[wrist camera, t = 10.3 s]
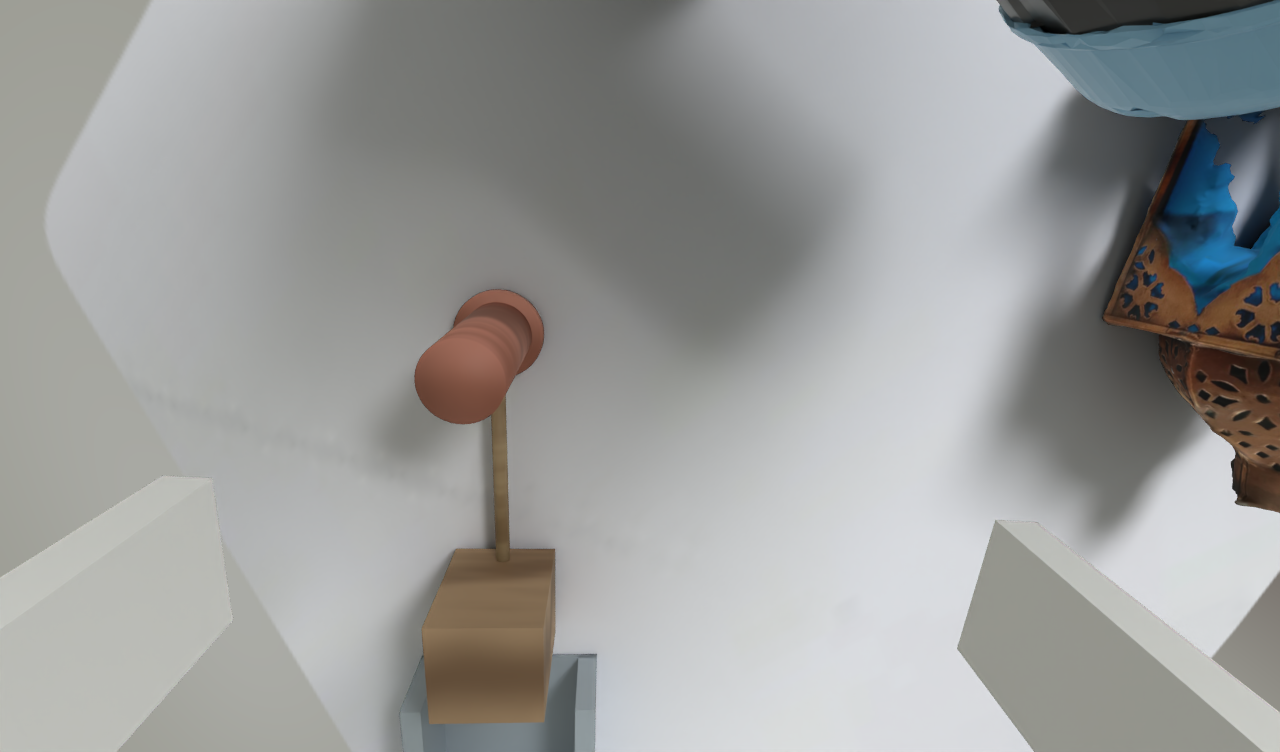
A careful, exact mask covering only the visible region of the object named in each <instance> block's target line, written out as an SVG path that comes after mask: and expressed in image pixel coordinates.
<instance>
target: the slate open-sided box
mask: <svg viewBox="0 0 1280 752" xmlns="http://www.w3.org/2000/svg"><path fill="white" fill-rule="evenodd" d="M596 662H597V654H566V655H552V662H551V670H550V678H549V687H548V695H547V703H546V712H545V720H544V722H538V723H469V724H429V716H428V704H427V691H426V679H425V666H424V656H422V658H421V660H420V663H419V665H418V668H417V670H416V673H415V675H414V678H413V680H412V683H411V685H410V688H409V690H408V692H407V695H406V697H405V700H404V702H403V705H402V707H401V710H400V712H399V715H400V725H401V736H402V746H403V752H595V707H596Z"/></svg>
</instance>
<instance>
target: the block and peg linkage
mask: <svg viewBox="0 0 1280 752" xmlns="http://www.w3.org/2000/svg"><path fill="white" fill-rule="evenodd" d="M543 340H544V328H543V323H542V320H541V317H540V315H539V313H538V312H537V310H536V309H535V307H534V306H533V305H532V304H531V303H530V302H529V301H528V300H527V299H525V298H524V297H522V296H521V295H519V294H517V293H514V292H511V291H508V290H501V289H493V290H487V291H484V292H481V293H479V294H477V295H475V296H474V297H472V298H471V299H469V300H468V301H467V302H466V303H465V304H464V305H463V306H462V307H461V309H460V310H459V312H458V314H457V316H456V318H455V321H454V327H453V329H451V330H450V331H449V332H448V333H447V334H446V335H444V336H443V337H442V338H441V339H440V340H438V341H437V342H436V343H435V344H434V345H432V346H431V347H430V348H429V349H428V350H426V351H425V353H424V354H423V355H422V356H421V358H420V359H419V361H418V364H417V366H416V370H415V387H416V391H417V394H418V396H419V398H420V400H421V401H422V403H423V404H424V406H425V407H426V408H427V409H428V410H429V411H430V412H431V413H433V414H434V415H435V416H437V417H438V418H440V419H442V420H445V421H447V422H450V423H455V424H471V423H476V422H479V421H481V420H484V419H485V418H487V417H489V416H490V415H491V424H492V452H493V481H494V510H495V538H496V549H456V550H455V552H454V555H453V557H452V559H451V562H450V564H449V566H448V569H447V571H446V573H445V576H444V578H443V580H442V582H441V585H440V587H439V589H438V592H437V594H436V596H435V599H434V601H433V603H432V606H431V608H430V610H429V613H428V615H427V617H426V619H425V622H424V624H423V626H422V641H423V653H424V666H425V679H426V691H427V704H428V716H429V724H469V723H538V722H544V720H545V712H546V703H547V695H548V687H549V678H550V670H551V662H552V653H553V645H554V637H555V549H510V541H509V504H508V468H507V431H506V392H507V390H508V389H509V387H510V385H511V383H512V381H513V379H514V377H515V375H517V374H519V373H521V372H523V371H525V370H526V369H527V368H529V367H530V366H531V365H532V364H533V363H534V361H535V360H536V359H537V357H538V355H539V353H540V351H541V348H542V345H543Z"/></svg>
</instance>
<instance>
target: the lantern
mask: <svg viewBox="0 0 1280 752" xmlns="http://www.w3.org/2000/svg"><path fill="white" fill-rule="evenodd" d="M1263 111H1265V110H1263ZM1263 111H1257V112H1252V113H1246V114H1240V115H1232V116H1227V118H1228V119H1229V118H1231V117H1234V116H1240V117H1241V118H1242V119H1243V120H1242V121H1247V122H1253V123H1254V124H1255V123H1257V122H1258V121H1259V120H1261V119H1263V118H1264V117H1265V115H1264V116H1259V115H1260V114H1261V113H1262V112H1263ZM1204 120H1205V119H1196V120H1187V123H1186V125H1185V127H1184V128H1183V129H1182V131H1181V133H1180V135H1179V138H1178V141H1177V144H1176V146H1175V149H1174V151H1173V154H1172V156H1171V159H1170V161H1169V163H1168V165H1167V168H1166V170H1165V173H1164V175H1163V177H1162V179H1161V181H1160V184H1159V186H1158V189H1157V191H1156V193H1155V195H1154V197H1153V200H1152V203H1151V205H1150V206H1149V208H1148V213H1147V216H1146V218H1145V222H1144V223H1143V225H1142V227H1141V230H1140V232H1139V234H1138V236H1137V238H1136V241H1135V244H1134V246H1133V249H1132V252H1131V254H1130V255H1129V258H1128V259H1127V262H1126V264H1125V267H1124V268H1123V270H1122V273H1121V275H1120V277H1119V279H1118V282H1117V283H1116V287H1115V290H1114V293H1113V295H1112V298H1111V300H1110V301H1109V303H1108V307H1107V309H1106V310H1105V312H1104V315H1103V317H1102V319H1103V321H1105V322H1107V324H1108V325H1115V326H1125V327H1129V328H1134V329H1140V330H1144V331H1149V332H1153V333H1157V334H1159V356H1160V361H1161V364H1162V366H1163V368H1164V370H1165V372H1166V374H1167V376H1168V378H1169V379H1170V380H1171V382H1172V384H1173V385H1174V387H1175V388H1176V389H1177V391H1178V392H1179V394H1180V395H1181V396H1182V397H1183V398H1184V399H1185V400H1186V401H1187V402H1189V403H1190V405H1191V406H1192V407H1193V409H1194V410H1195V411H1196V412H1197V413H1198V414H1199V415H1200V416H1201V417H1202V419H1203V420H1204V421H1205V422H1206V423H1207V424H1208V425H1209V426H1210V428H1211V430H1212V431H1213V432H1214V433H1216V434H1218V435H1219V436H1221V437H1222V438H1224V439H1225V440H1226V441H1227V442H1229V443H1230V444H1231V445H1232V446H1233V448H1234V450H1235V453H1236V455H1235V459H1233V460H1232V461H1231V468H1232V477H1233V484H1232V489H1233V490H1234V491H1235V492H1236V494H1237V497H1238V498H1237V500H1236V501H1235V503H1236V504H1238V505H1241V506H1250V507H1257V508H1261V509H1265V510H1271V511H1275V512H1279V513H1280V206H1279V208H1278V210H1277V211H1276V212H1275V213H1274V214H1273V215H1272V217H1271V218H1270V224H1271V225H1270V226H1269V227H1268V228H1267V229H1266V230H1265V231H1264V232H1263V233H1262V234H1261V235H1260V237H1259V239H1258V240H1257V241H1256V243H1255V244H1254V245H1253V247H1252V249H1248V248H1243V247H1238V246H1234V244H1235V240H1236V236H1235V234H1234V233H1233V228H1232V225H1233V223H1234V220H1235V218H1236V215H1237V212H1238V210H1237V206H1236V204H1235V203H1234V201H1233V200H1232V199H1231V196H1230V194H1229V190H1228V185H1229V183H1230V182H1231V181H1232V180H1233V179H1234V177H1235V176H1234V175H1232V174H1231V171H1230V167H1231V164H1227V163H1224V164H1222V165H1214V163H1213V161H1214V158H1215V156H1216V153H1217V151H1218V149H1219V148H1220V143H1219V141H1218V138H1217V136H1216V135H1215V134H1211V133H1210V132H1209V131H1208V130H1207V129H1206V123H1205V122H1204ZM1279 195H1280V191H1279ZM1279 202H1280V197H1279ZM1279 205H1280V204H1279Z"/></svg>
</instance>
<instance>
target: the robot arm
mask: <svg viewBox="0 0 1280 752" xmlns="http://www.w3.org/2000/svg"><path fill="white" fill-rule="evenodd" d="M997 1H998V3H999V4H1000V6H999V12H1000V14H1001V16H1002V18H1003V20H1004V21H1005V23H1006V24H1007V25H1008V26H1009V27H1010V29H1011V31H1012V32H1013V33H1015V34H1016V35H1017V36H1019V37H1020V38H1022V39H1024V40H1027V41H1029V42H1031V43H1033V44H1034V45H1035V46H1036V47H1037V48H1038V49H1039V50H1040V51H1041V52H1042V53H1043V54H1044V55H1045V56H1046V57H1047V58H1048V59H1049V60H1050V61H1051V62H1052V63H1053V64H1054V65H1055V66H1056V67H1057V68H1058V69H1059V71H1060V72H1061V73H1062V74H1063V75H1064V76H1065V77H1066V78H1067V80H1068V81H1069V82H1070V83H1071V84H1072V85H1073V86H1074V88H1075V89H1076V90H1077V91H1078V92H1080V93H1081V94H1082V95H1083V96H1084V97H1085V98H1086V99H1088V100H1090V101H1091V102H1093V103H1095V104H1096V105H1098V106H1100V107H1102V108H1104V109H1107V110H1109V111H1112V112H1115V113H1118V114H1122V115H1126V116H1134V117H1160V116H1168V117H1171V118H1174V119H1177V120H1196V119H1208V118H1216V117H1224V116H1232V115H1240V114H1246V113H1252V112H1257V111H1263V110H1268V109H1273V108H1277V107H1280V0H997ZM232 621H233V616H232V609H231V603H230V596H229V589H228V582H227V576H226V569H225V561H224V555H223V548H222V541H221V534H220V527H219V520H218V514H217V507H216V500H215V493H214V486H213V479H212V478H201V477H182V476H161V477H159V478H157V479H156V480H154V481H153V482H151V483H149V484H148V485H146V486H145V487H143V488H142V489H140V490H138V491H137V492H135V493H134V494H132V495H130V496H129V497H127V498H126V499H124V500H123V501H121V502H119V503H118V504H116V505H115V506H113V507H111V508H110V509H108V510H107V511H105V512H103V513H102V514H100V515H99V516H97V517H95V518H94V519H92V520H91V521H89V522H88V523H86V524H85V525H83V526H81V527H80V528H78V529H76V530H75V531H73V532H72V533H70V534H68V535H67V536H65V537H64V538H62V539H61V540H59V541H57V542H56V543H54V544H53V545H51V546H50V547H48V548H46V549H45V550H43V551H41V552H40V553H38V554H37V555H35V556H34V557H32V558H30V559H29V560H27V561H26V562H24V563H22V564H21V565H20V566H18V567H16V568H14V569H13V570H11V571H10V572H8V573H7V574H5V575H4V576H2V577H0V752H117V751H118V750H119V749H120V748H121V747H122V745H123V744H124V743H125V742H126V741H127V740H128V739H129V737H130V736H131V735H132V734H133V733H134V732H135V731H136V730H137V728H138V727H139V726H140V725H141V724H142V723H143V722H144V721H145V719H146V718H147V717H148V716H149V715H150V714H151V713H152V712H153V710H154V709H155V708H156V707H157V706H158V705H159V704H160V702H161V701H162V700H163V699H164V698H165V697H166V696H167V695H168V694H169V692H170V691H171V690H172V689H173V688H174V687H175V686H176V684H177V683H178V682H179V681H180V680H181V679H182V678H183V676H184V675H185V674H186V673H187V672H188V671H189V670H190V669H191V668H192V666H193V665H194V664H195V663H196V662H197V661H198V660H199V659H200V657H201V656H202V655H203V654H204V653H205V652H206V651H207V650H208V648H209V647H210V646H211V645H212V644H213V643H214V642H215V641H216V639H217V638H218V637H219V636H220V635H221V633H223V632H224V630H225V629H226V628H227V627H228V626H229V625H230V624H231V622H232ZM957 649H958V650H959V652H960V653H961V654H962V656H963V657H964V658H965V660H966V661H967V662H968V664H969V665H970V666H971V668H972V669H973V670H974V672H975V673H976V674H977V676H978V677H979V678H980V680H981V681H982V682H983V684H984V685H985V686H986V688H987V689H988V691H989V692H990V693H991V695H992V696H993V697H994V699H995V700H996V701H997V703H998V704H999V705H1000V707H1001V708H1002V709H1003V711H1004V712H1005V713H1006V715H1007V716H1008V717H1009V719H1010V720H1011V721H1012V723H1013V724H1014V725H1015V727H1016V728H1017V729H1018V731H1019V732H1020V733H1021V735H1022V736H1023V737H1024V739H1025V740H1026V741H1027V743H1028V744H1029V745H1030V747H1031V748H1032V749H1033V751H1034V752H1280V713H1279V712H1278V711H1277V710H1276V709H1275V708H1273V707H1272V706H1271V705H1269V704H1268V703H1267V702H1266V701H1264V700H1263V699H1262V698H1261V697H1259V696H1258V695H1257V694H1255V693H1254V692H1253V691H1252V690H1250V689H1249V688H1248V687H1246V686H1245V685H1244V684H1243V683H1241V682H1240V681H1239V680H1238V679H1236V678H1235V677H1234V676H1232V675H1231V674H1230V673H1228V672H1227V671H1226V670H1225V669H1223V668H1222V667H1221V666H1220V665H1218V664H1217V663H1216V662H1214V661H1213V660H1212V659H1211V658H1210V657H1208V656H1207V655H1206V654H1204V653H1203V652H1202V651H1201V650H1199V649H1198V648H1197V647H1196V646H1194V645H1193V644H1192V643H1190V642H1189V641H1188V640H1187V639H1185V638H1184V637H1183V636H1181V635H1180V634H1179V633H1178V632H1176V631H1175V630H1174V629H1173V628H1171V627H1170V626H1169V625H1167V624H1166V623H1165V622H1164V621H1162V620H1161V619H1160V618H1159V617H1157V616H1156V615H1155V614H1153V613H1152V612H1151V611H1150V610H1148V609H1147V608H1146V607H1145V606H1143V605H1142V604H1141V603H1139V602H1138V601H1137V600H1136V599H1134V598H1133V597H1132V596H1131V595H1129V594H1128V593H1127V592H1125V591H1124V590H1123V589H1122V588H1120V587H1119V586H1118V585H1116V584H1115V583H1114V582H1113V581H1111V580H1110V579H1109V578H1108V577H1106V576H1105V575H1104V574H1102V573H1101V572H1100V571H1099V570H1097V569H1096V568H1095V567H1094V566H1092V565H1091V564H1090V563H1088V562H1087V561H1086V560H1085V559H1083V558H1082V557H1081V556H1080V555H1078V554H1077V553H1076V552H1074V551H1073V550H1072V549H1071V548H1069V547H1068V546H1067V545H1065V544H1064V543H1063V542H1062V541H1060V540H1059V539H1058V538H1057V537H1055V536H1054V535H1053V534H1051V533H1050V532H1049V531H1048V530H1046V529H1045V528H1044V527H1043V526H1041V525H1040V524H1039V523H1037V522H1023V521H1004V520H995V523H994V526H993V530H992V533H991V537H990V540H989V543H988V547H987V550H986V553H985V557H984V560H983V563H982V567H981V570H980V573H979V577H978V580H977V584H976V587H975V590H974V594H973V597H972V600H971V604H970V607H969V610H968V614H967V617H966V620H965V624H964V627H963V631H962V634H961V637H960V641H959V644H958V647H957Z"/></svg>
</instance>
